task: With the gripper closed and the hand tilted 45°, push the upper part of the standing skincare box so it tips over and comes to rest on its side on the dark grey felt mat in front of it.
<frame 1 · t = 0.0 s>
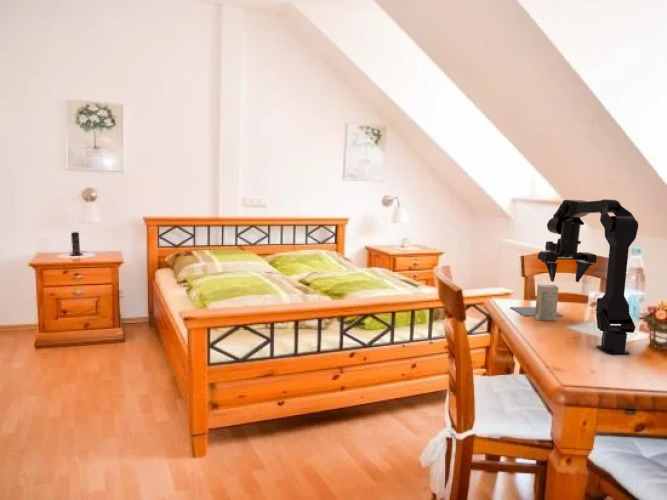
hand: (564, 281, 183), 15 cm above the table, tool pointing down, fingers open, 9 cm apart
felt mat: (535, 312, 198), on the table
skincare box: (544, 319, 189), on the table
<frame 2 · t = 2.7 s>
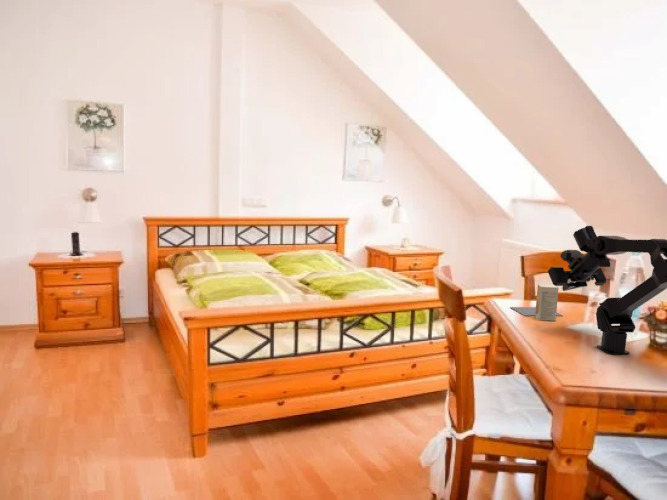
hand: (563, 289, 180), 13 cm above the table, tool tilted 45°, fingers closed
nothing on the table moved.
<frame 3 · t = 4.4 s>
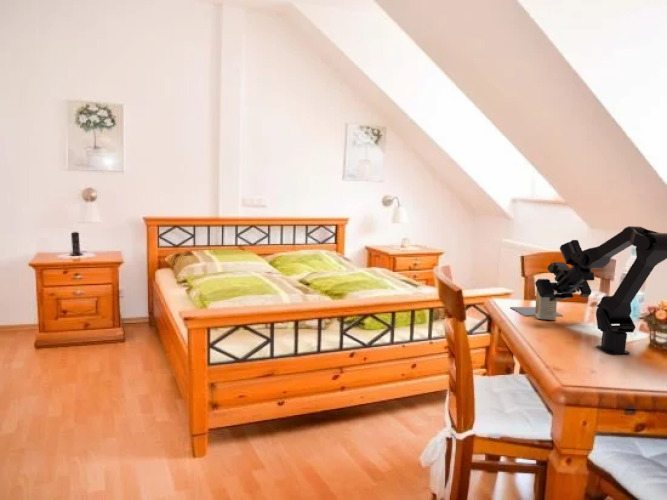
hand: (550, 300, 186), 7 cm above the table, tool tilted 45°, fingers closed
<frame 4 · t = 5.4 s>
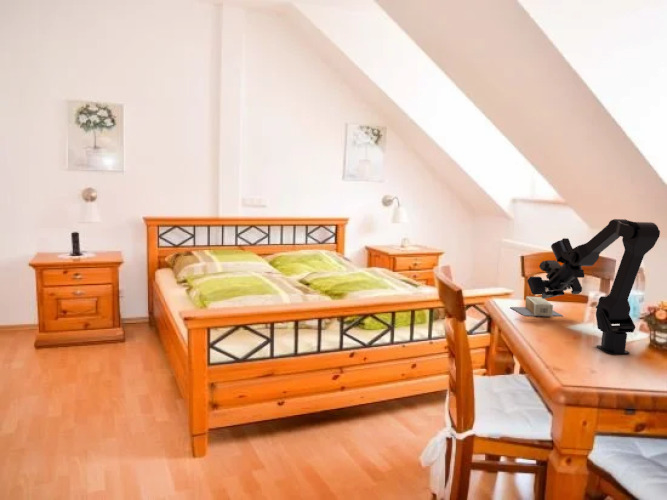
hand: (542, 297, 191), 7 cm above the table, tool tilted 45°, fingers closed
skincare box: (543, 310, 191), point 3 cm above the table, touching felt mat
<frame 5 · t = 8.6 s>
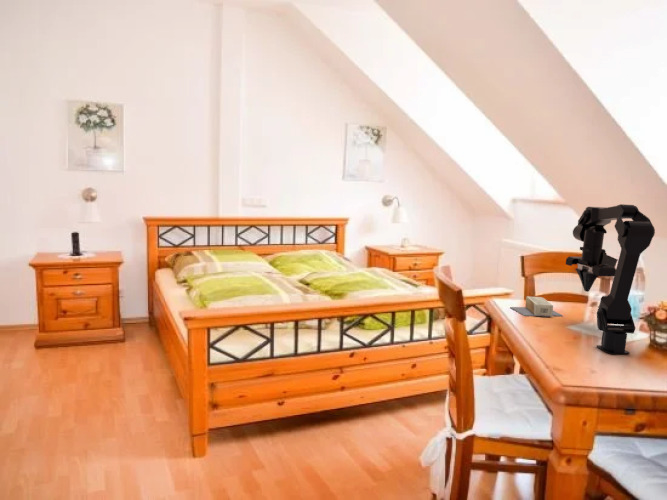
hand: (586, 291, 177), 13 cm above the table, tool pointing down, fingers closed
nothing on the table moved.
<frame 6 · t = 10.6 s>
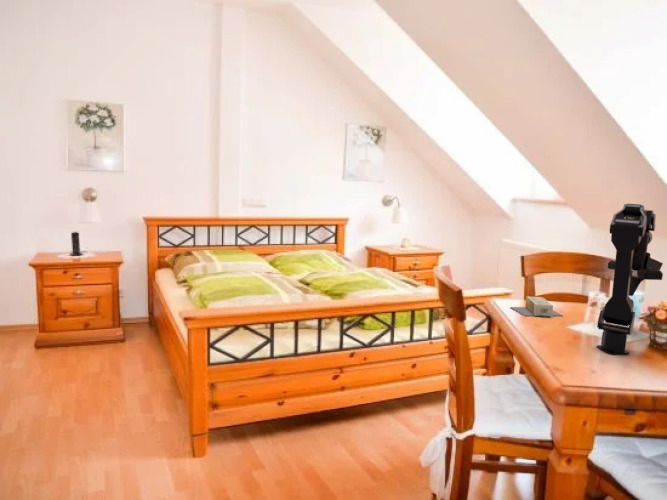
hand: (630, 295, 173), 13 cm above the table, tool pointing down, fingers closed
nothing on the table moved.
at the end: skincare box tilted 90°; skincare box inside the target area (6.6 cm from its centre), point 2.6 cm above the table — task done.
